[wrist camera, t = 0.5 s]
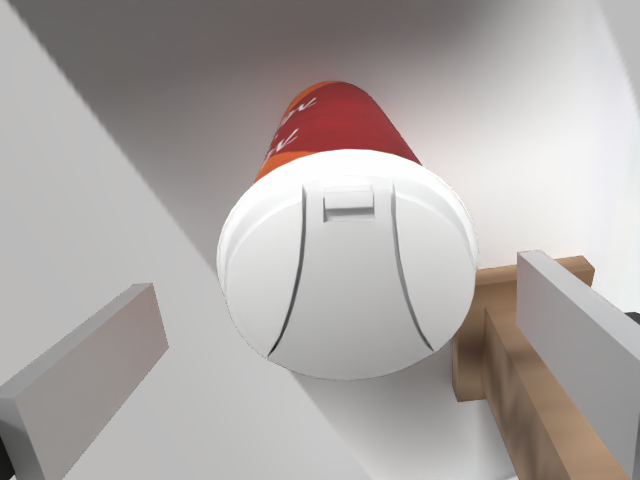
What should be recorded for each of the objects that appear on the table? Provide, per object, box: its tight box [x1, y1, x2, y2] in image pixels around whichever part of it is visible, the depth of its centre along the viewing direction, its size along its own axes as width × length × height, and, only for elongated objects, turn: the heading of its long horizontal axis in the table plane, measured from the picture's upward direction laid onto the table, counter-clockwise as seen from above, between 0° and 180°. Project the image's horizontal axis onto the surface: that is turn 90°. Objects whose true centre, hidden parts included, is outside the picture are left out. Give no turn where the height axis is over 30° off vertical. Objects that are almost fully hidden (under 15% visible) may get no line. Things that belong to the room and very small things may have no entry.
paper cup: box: [216, 81, 479, 380], centre depth 17 cm, size 8×8×14 cm
